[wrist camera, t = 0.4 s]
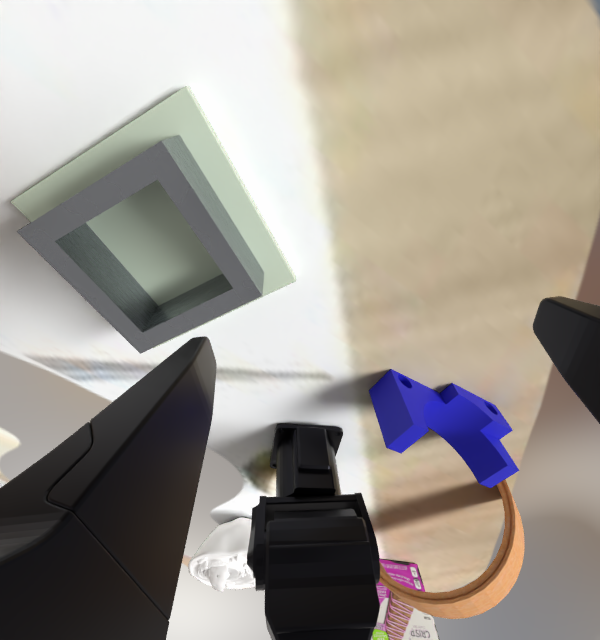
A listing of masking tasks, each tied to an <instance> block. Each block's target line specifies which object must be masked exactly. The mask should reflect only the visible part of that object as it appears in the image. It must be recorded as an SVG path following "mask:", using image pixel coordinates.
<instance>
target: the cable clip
mask: <svg viewBox="0 0 600 640" xmlns="http://www.w3.org/2000/svg"><path fill="white" fill-rule="evenodd" d="M369 393H370V396H371V399H372V403H373V406H374V409H375V412H376V416H377V419H378V422H379V425H380V429H381V432H382V435H383V438H384V442H385V445H386V448H389V449H391V450H394V451H396V452H399V453H402V452H404V451H405V450H406V449H407V448H408V447H410V446H411V445H412V444H413V443H415V442H416V441H417V440H418V439H420V438H421V437H422V436H423V435H425V434H426V433H427V432H428V431H429V430H428V428H427V427H429V428H430V429H432V430H433V431H435V432H436V433H437V434H439V435H440V436H441V437H442V438H444V439H445V440H446V441H447V442H448V443H449V444H450V445H451V446H452V447H453V448H454V449H455V450H456V451H457V452H458V454H459V455H460V456H461V457H462V458H463V460H464V461H465V462H466V464H467V465H468V466H469V468H470V469H471V471H472V472H473V474H474V476H475V477H476V479H477V481H478V483H479V484H481V485H484V486H486V487H489V488H492V487H493V486H495V485H497V484H498V483H500V482H501V481H503V480H505V479H506V478H508V477H509V476H511V475H513V474H514V473H516V472H517V471H519V469H518V468H517V466H516V465H515V463H514V462H513V460H512V459H511V457H510V456H509V454H508V452H507V451H506V449H505V448H504V446H503V445H502V443H501V442H500V440H499V439H501V438H502V437H504V436H505V435H507V434H508V433H509V432H511V431H512V428H511V427H510V426H509V424H508V423H507V421H506V420H505V419H504V417H503V416H502V414H501V413H500V411H499V410H498V409H497V407H496V406H495V405H493V404H492V403H490V402H488V401H486V400H484V399H482V398H480V397H478V396H476V395H474V394H472V393H470V392H468V391H467V390H465V389H463V388H461V387H459V386H457V385H455V384H453V383H451V384H450V385H449V386H448V387H447V388H445V389H444V390H443V391H442V392H441V393H438V392H436V391H434V390H432V389H430V388H428V387H426V386H424V385H422V384H420V383H418V382H416V381H414V380H412V379H410V378H408V377H406V376H404V375H402V374H400V373H398V372H396V371H394V370H392V369H390V370H389V371H388V372H387V373H386V374H385V375H384V376H383V377H382V378H381V379H380V380H379V381H378V382H377V383H376V384H375V385H374V386H373V387H372V388H371V389H370V390H369Z"/></svg>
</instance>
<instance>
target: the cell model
mask: <svg viewBox="0 0 600 640" xmlns="http://www.w3.org/2000/svg"><path fill="white" fill-rule="evenodd" d="M251 522H252V519H248V518H243V517H241V518H237V519H235V520H233V521H230V522H226V523H223V524H221V525H219V526H217V527H216V528H215V529H214V530H213V531H212V532H211V533H210V535H209V536H208V538H207V539H206V540H205V541H204V542H203V543H202V545H201V546H200V548H199V549H198V551H197V552H196V554H195V555H194V556H193V557H192V559H191V560H190V561H189V565H188V568H189V573H190V574H191V575H192V576H193V577H195V578H197V579H198V580H199V581H200V582H202V583H204V584H206V585H209V586H212V587H213V588H214V589H215V590H217V591H220V592H223V590H224V588H228V589H246V588H254V587H256V586H255V578H253V571H252V570H251V569H250V568H249V566H248V565H247V552H248V546H249V539H250V533H251Z"/></svg>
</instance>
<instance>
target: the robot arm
mask: <svg viewBox="0 0 600 640" xmlns="http://www.w3.org/2000/svg"><path fill="white" fill-rule="evenodd" d="M533 330H534V333H535V335H536V336H537V338H538V339H539V341H540V343H541V344H542V346H543V347H544V349H545V350H546V352H547V353H548V355H549V357H550V358H551V360H552V361H553V363H554V364H555V366H556V367H557V369H558V371H559V372H560V373H561V375H562V377H563V378H564V379H565V381H566V382H567V383H568V385H569V386H570V387H571V388H572V390H573V391H574V392H575V393H576V395H577V396H578V397H579V398H580V399H581V401H582V402H583V403H584V405H585V406H586V407H587V408H588V410H589V411H590V412H591V413H592V415H593V416H594V417H595V419H596V420H597V421H598V422H599V424H600V306H597V305H593V304H589V303H585V302H581V301H578V300H574V299H570V298H566V297H560V296H558V297H550V298H545V299H543V300H542V301H541V302H540V305H539V308H538V311H537V314H536V317H535V320H534V323H533ZM215 380H216V360H215V357H214V353H213V350H212V347H211V343H210V340H209V339H208V338H207V337H196V338H192V339H190V340H189V341H188V342H187V343H185V344H184V345H183V346H182V347H180V348H179V349H178V350H177V351H175V352H174V353H173V354H172V355H170V356H169V357H168V358H167V359H166V360H164V361H163V362H162V363H161V364H159V365H158V366H157V367H156V368H154V369H153V370H152V371H151V372H149V373H148V374H147V375H146V376H144V377H143V378H142V379H141V380H140V381H138V382H137V383H136V384H135V385H133V386H132V387H131V388H130V389H128V390H127V391H126V392H125V393H123V394H122V395H121V396H120V397H118V398H117V399H116V400H115V401H114V402H112V403H111V404H110V405H109V406H108V407H106V408H105V409H104V410H102V411H101V412H100V413H99V414H98V415H96V416H95V417H94V418H92V419H91V421H90V423H89V422H88V423H86V424H85V425H84V426H82V427H81V428H80V429H79V430H78V431H76V432H75V433H74V434H73V435H71V436H70V437H69V438H68V439H66V440H65V441H64V442H62V443H61V444H60V445H58V446H57V447H56V448H55V449H53V450H52V451H51V452H50V453H48V454H47V455H46V456H44V457H43V458H41V459H40V460H39V461H37V462H36V463H35V464H33V465H32V466H30V467H29V468H28V469H26V470H25V471H24V472H22V473H21V474H19V475H18V476H17V477H15V478H14V479H12V480H11V481H10V482H8V483H7V484H5V485H4V486H3V487H1V488H0V640H166V635H167V631H168V625H169V621H168V620H169V618H170V615H171V610H172V606H173V601H174V596H175V591H176V587H177V582H178V577H179V573H180V568H181V563H182V559H183V554H184V549H185V544H186V540H187V535H188V530H189V525H190V520H191V516H192V511H193V507H194V502H195V497H196V492H197V487H198V482H199V478H200V473H201V468H202V464H203V459H204V454H205V450H206V445H207V440H208V436H209V431H210V426H211V421H212V414H213V403H214V391H215ZM342 436H343V430H342V428H339V427H325V426H307V425H290V424H279V425H277V426H276V429H275V435H274V441H273V447H272V453H271V459H270V467H271V468H275V469H277V470H276V497H266V496H260V502H259V504H258V506H256V507H254V508H252V522H251V533H250V539H249V546H248V552H247V565H248V566H249V568H250V569H251V570H252V571H253V578H255V586H256V591H257V590H265V616H266V624H267V629H268V632H269V634H270V636H271V638H272V640H371V637H372V634H373V630H374V628H375V627H376V624H377V620H378V615H379V610H380V602H379V598H378V593H377V587H376V584H378V583H379V580H380V560H379V552H378V546H377V542H376V537H375V534H374V531H373V528H372V525H371V522H370V519H369V515H368V512H367V509H366V506H365V503H364V500H363V497H362V494H361V493H355V494H348V495H341V490H340V484H339V478H338V471H337V465H336V459H335V456H336V453H337V450H338V448H339V445H340V442H341V439H342Z"/></svg>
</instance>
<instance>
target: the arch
mask: <svg viewBox="0 0 600 640" xmlns="http://www.w3.org/2000/svg"><path fill="white" fill-rule="evenodd" d="M497 487H498V489H499V492H500V494H501V497H502V500H503V505H504V511H505V529H504V535H503V540H502V544H501V546H500V549H499V551H498V553H497V556H496V558H495V559H494V561H493V562H492V564H491V565H490V566H489V568H488V569H487V570H486V571H485V572H484V573H483V574H482V575H481V576H480V577H479V578H478V579H477V580H475V581H473V582H471V583H470V584H468V585H467V586H465V587H462V588H459V589H456V590H453V591H450V592H440V593H430V592H422V591H417V590H414V589H411V588H408V587H405V586H403V585H402V584H400V583H398V582H396V581H394V580H393V579H392V578H391V576H390V575H389V574H388V573H387V572H386V570H385V569H384V567H383V566H382V564H381V562H380V580H379V581H380V582H381V583H382V584H383V585H384V586H386V587H387V588H388V589H389V590H390V591H392V592H393V593H394V594H395V595H397V596H398V597H399V598H400V599H402V600H403V601H404V602H405V603H407V604H409V605H410V606H412V607H414V608H415V609H417V610H419V611H421V612H424V613H427V614H429V615H432V616H435V617H441V618H448V619H456V618H468V617H471V616H475V615H478V614H482V613H484V612H485V611H487V610H489V609H490V608H492V607H494V606H496V605H497V603H499V602H500V601H501V600H502V599H503V598H504V597H505V596H506V595H507V594H508V593H509V591H510V589H511V588H512V587H513V585H514V583H515V582H516V580H517V577H518V575H519V572H520V569H521V567H522V562H523V555H524V531H523V526H522V522H521V517H520V514H519V512H518V509H517V507H516V504H515V502H514V499H513V497H512V494H511V492H510V490H509V487H508V485H507V483H506V480H503V481H501V482H500V483H498V484H497Z"/></svg>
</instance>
